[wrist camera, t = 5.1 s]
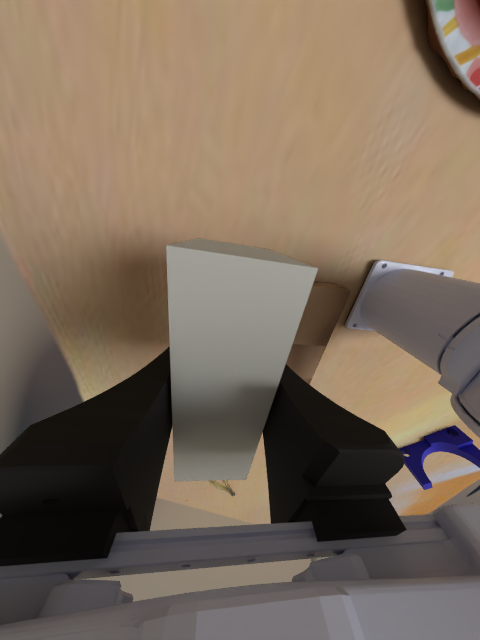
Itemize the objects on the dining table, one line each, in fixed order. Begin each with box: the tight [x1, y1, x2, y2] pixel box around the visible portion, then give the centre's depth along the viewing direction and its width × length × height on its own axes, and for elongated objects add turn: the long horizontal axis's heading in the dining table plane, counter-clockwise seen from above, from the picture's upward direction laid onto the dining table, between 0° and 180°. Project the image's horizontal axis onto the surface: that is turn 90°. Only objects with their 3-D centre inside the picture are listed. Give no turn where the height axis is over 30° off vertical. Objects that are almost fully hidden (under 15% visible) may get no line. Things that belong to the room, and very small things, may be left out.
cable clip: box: [399, 426, 480, 490], centre depth 34 cm, size 12×4×6 cm, turn 123°
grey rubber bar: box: [166, 238, 318, 481], centre depth 10 cm, size 4×12×6 cm, turn 171°
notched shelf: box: [286, 281, 351, 384], centre depth 21 cm, size 12×18×2 cm, turn 172°
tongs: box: [209, 480, 235, 496], centre depth 39 cm, size 4×13×2 cm, turn 24°
